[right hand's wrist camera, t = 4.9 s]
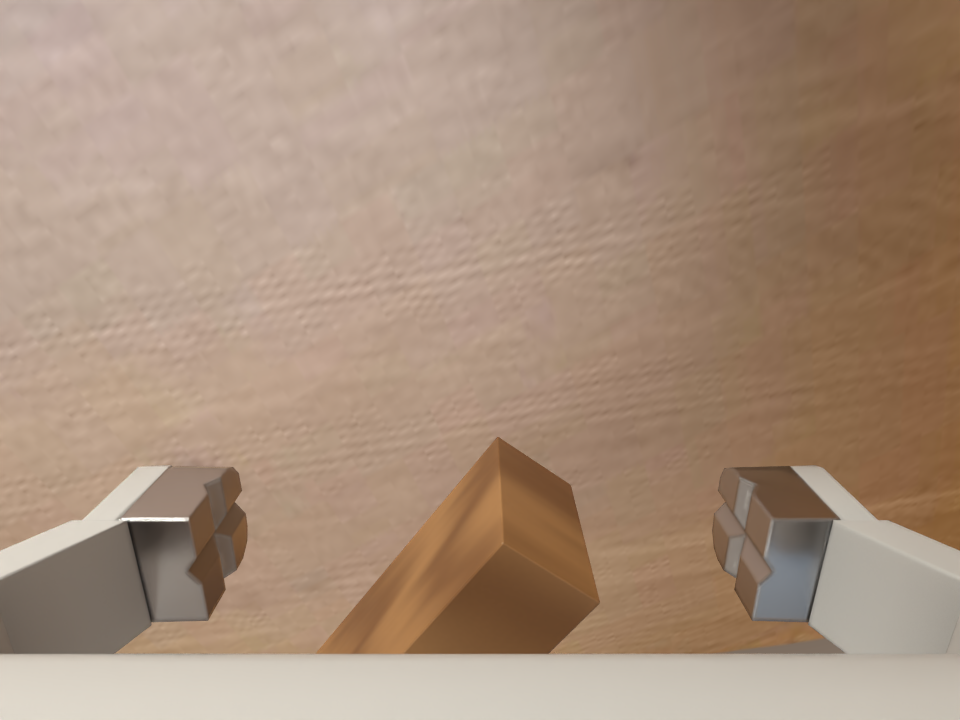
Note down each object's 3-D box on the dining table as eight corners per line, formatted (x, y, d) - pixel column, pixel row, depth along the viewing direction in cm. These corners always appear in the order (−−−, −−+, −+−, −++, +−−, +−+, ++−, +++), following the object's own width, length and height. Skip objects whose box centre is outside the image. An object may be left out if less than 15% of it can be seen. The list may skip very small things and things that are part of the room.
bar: (497, 435, 28) (502, 542, 21) (571, 484, 29) (601, 603, 22) (261, 718, 35) (201, 875, 27) (327, 750, 36) (286, 911, 28)
